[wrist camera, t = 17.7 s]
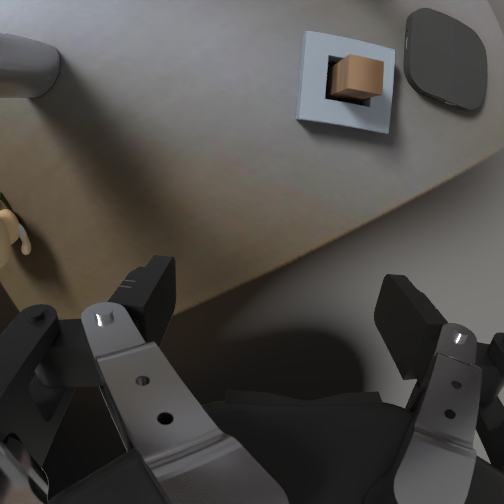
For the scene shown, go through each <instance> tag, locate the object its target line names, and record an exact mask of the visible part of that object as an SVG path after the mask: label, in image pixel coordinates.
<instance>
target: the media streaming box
mask: <svg viewBox="0 0 504 504" xmlns="http://www.w3.org/2000/svg"><path fill="white" fill-rule="evenodd" d="M404 73H405V76H406V79H407V81H408V82H409V84H410V85H411V86H412V87H413V88H414V89H415V90H416V91H417V92H419V93H421V94H424V95H426V96H428V97H431V98H433V99H435V98H436V100H438V101H441V102H443V103H446V104H448V105H451V106H454V107H457V108H459V109H463V110H474V109H476V108H478V107H479V106H480V105H481V104H482V102H483V100H484V96H485V91H486V83H487V56H486V50H485V47H484V45H483V43H482V41H481V39H480V38H479V36H478V35H477V34H476V33H475V32H474V31H473V30H472V29H471V28H469V27H468V26H466V25H465V24H463V23H461V22H460V21H458V20H456V19H454V18H452V17H450V16H448V15H446V14H443V13H441V12H438V11H435V10H432V9H429V8H421V9H418V10H417V11H415V12H413V13H412V14H410V15H409V17H408V19H407V23H406V33H405V47H404Z"/></svg>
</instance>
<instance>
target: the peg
mask: <svg viewBox="0 0 504 504" xmlns="http://www.w3.org/2000/svg"><path fill="white" fill-rule="evenodd" d="M383 75H384V62H383V61H379V60H375V59H371V58H366V57H362V56H357V55H352V54H349V55H348V56H346V57H345V58H343V59H342V60H341V61H339V62H338V63H337V64H335V65H334V66H333V67H331V68H330V69H329V83H328V96H330V97H337V98H343V99H349V100H354V101H357V100H361V99H366V98H370V97H375V96H380V95H382V92H383Z"/></svg>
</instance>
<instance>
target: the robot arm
mask: <svg viewBox="0 0 504 504" xmlns="http://www.w3.org/2000/svg"><path fill="white" fill-rule="evenodd" d="M59 68H60V56H59V54H58V51H57V50H56V48H54V47H53V46H51V45H48V44H44V43H41V42H40V41H36V40H32V39H28V38H24V37H20V36H15V35H11V34H2V33H0V98H35V97H39V96H42V95H43V94H45V93H46V92H47V91H48V90H49V89H50V88H51V86H52V85H53V84H54V82H55V80H56V78H57V75H58V73H59ZM430 302H431V301H430V300H429V299H428V298H427V297H426V295H425V294H423V293H422V292H420V291H419V290H417V289H416V288H415V286H414V285H413V284H412V283H411V282H410V281H409V279H408V278H407V277H406V276H404V275H392V274H387V275H386V276H385V277H384V280H383V283H382V286H381V290H380V293H379V297H378V300H377V304H376V307H375V312H374V321H375V325H376V327H377V329H378V330H379V332H380V334H381V336H382V338H383V340H384V342H385V344H386V346H387V348H388V350H389V352H390V354H391V356H392V358H393V360H394V362H395V364H396V366H397V368H398V370H399V372H400V374H401V376H402V378H403V380H409V379H417V382H416V384H415V386H414V388H413V390H412V393H411V396H410V398H409V400H408V403H407V405H406V408H405V409H404V408H402V407H399V406H396V405H393V404H389V403H383V402H382V400H381V397H380V395H379V392H363V393H343V394H339V395H335V396H331V397H326V398H322V399H317V400H312V401H303V400H298V399H293V398H288V397H284V396H280V395H275V394H271V393H266V392H251V391H236V390H226V396H225V401H220V402H214V403H209V404H205V405H202V406H200V404H199V403H198V402H197V400H196V399H195V398H194V396H193V395H192V394H191V392H190V391H189V390H188V388H187V387H186V386H185V384H184V383H183V382H182V380H181V379H180V377H179V376H178V375H177V373H176V372H175V370H174V369H173V368H172V366H171V365H170V364H169V362H168V361H167V359H166V358H165V356H164V355H163V353H162V352H161V351H160V349H159V347H160V345H161V342H162V339H163V337H164V334H165V332H166V329H167V327H168V324H169V322H170V320H171V317H172V315H173V312H174V309H175V304H176V269H175V258H174V257H168V256H157V255H154V256H153V258H152V259H151V260H150V262H149V263H148V264H147V266H146V267H138V268H137V269H135V270H133V271H131V272H130V273H129V274H128V275H127V277H126V278H125V280H124V281H123V282H122V283H121V284H120V287H118V288H117V290H116V291H115V292H114V294H113V295H112V296H111V298H110V299H109V300H108V302H102V303H97V304H94V305H92V306H90V307H88V308H86V309H85V310H84V311H83V313H82V315H81V319H67V320H58V316H57V312H56V310H55V309H54V308H53V307H52V306H49V305H44V304H40V305H34V306H30V307H28V308H26V309H24V310H23V311H21V312H20V313H19V314H18V315H17V316H16V318H15V319H14V320H13V321H12V322H11V323H10V324H9V326H8V327H7V328H6V329H5V330H4V331H3V333H2V334H1V335H0V504H504V406H503V405H502V403H501V401H500V400H499V398H498V396H497V395H498V394H499V392H500V391H501V389H502V388H503V386H504V333H496V334H495V335H494V337H493V339H492V341H491V343H490V344H484V343H478V342H477V338H476V336H475V334H474V333H473V332H472V331H471V330H469V329H468V328H466V327H464V326H462V325H460V324H455V323H448V322H447V321H446V319H445V318H444V317H443V316H442V315H441V313H440V312H439V311H438V310H437V309H435V306H434V305H433V304H432V303H430ZM34 371H35V372H36V374H35V376H34V378H33V379H32V381H31V382H30V384H29V381H30V377H31V376H32V374H33V372H34ZM84 386H85V387H86V386H99V387H100V390H101V392H102V395H103V397H104V399H105V402H106V404H107V407H108V409H109V411H110V414H111V416H112V418H113V420H114V423H115V425H116V427H117V429H118V431H119V434H120V436H121V438H122V441H123V443H124V445H125V447H126V449H127V452H126V453H125V454H123V455H122V456H120V457H119V458H117V459H116V460H114V461H112V462H111V463H109V464H108V465H106V466H104V467H103V468H101V469H100V470H98V471H96V472H94V473H93V474H91V475H90V476H88V477H86V478H84V479H83V480H81V481H79V482H78V483H76V484H74V485H73V486H71V487H69V488H67V489H66V490H63V491H62V492H60V493H58V494H57V495H56V496H54V497H53V498H52V499H51V500H50V501H49V502H48V500H47V493H48V487H49V486H48V485H49V483H48V479H47V476H46V474H45V472H44V471H43V469H42V468H41V467H42V465H43V462H44V460H45V457H46V455H47V452H48V450H49V447H50V445H51V442H52V440H53V438H54V435H55V433H56V431H57V429H58V426H59V424H60V422H61V419H62V417H63V415H64V413H65V410H66V408H67V406H68V404H69V402H70V399H71V397H72V395H73V393H74V391H75V389H76V387H84ZM475 429H476V431H477V433H478V435H479V437H480V439H481V441H482V444H483V446H484V448H485V450H486V453H487V455H488V457H489V460H490V462H491V464H489V463H488V462H486V461H485V460H483V459H482V458H480V457H478V456H477V455H476V451H475V450H474V449H473V440H474V435H475Z"/></svg>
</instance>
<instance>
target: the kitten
mask: <svg viewBox="0 0 504 504" xmlns="http://www.w3.org/2000/svg"><path fill="white" fill-rule="evenodd" d="M0 199H1V192H0ZM19 237H20V238H21V240H22V246H21V251H22V253H23V254H25V255H28V254H29V253H30V252H31V243H30V241H29V239H28V236H27V233H26V231H25V229H24V228H23V226H22V225H21V224H20V223H19V221H18V219H17V217H16V216H15V214H14V213H13V212H11V211H10V210H8V209H2V210H0V268H1V267H3V266H4V265H5V264H6V263H7V261H8V259H9V256H10V245H12V244H13V243H14V242H15V241H17V239H18V238H19Z"/></svg>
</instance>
